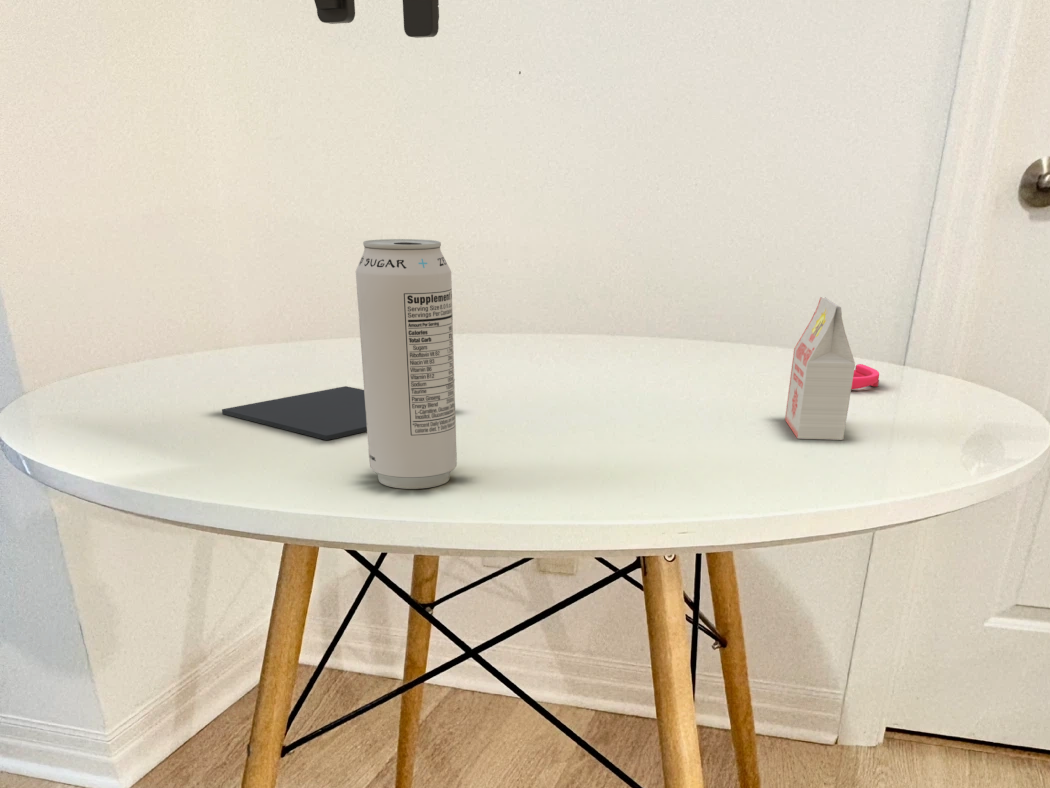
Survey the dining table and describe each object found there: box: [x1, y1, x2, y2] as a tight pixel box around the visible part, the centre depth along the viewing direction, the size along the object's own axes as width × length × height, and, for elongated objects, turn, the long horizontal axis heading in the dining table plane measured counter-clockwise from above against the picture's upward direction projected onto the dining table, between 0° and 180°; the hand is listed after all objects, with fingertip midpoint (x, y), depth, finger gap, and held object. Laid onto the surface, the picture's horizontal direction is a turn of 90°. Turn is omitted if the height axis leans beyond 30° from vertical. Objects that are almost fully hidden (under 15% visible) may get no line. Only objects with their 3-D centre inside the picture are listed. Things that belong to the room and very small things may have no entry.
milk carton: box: [784, 296, 856, 441], centre depth 82 cm, size 4×7×10 cm, turn 176°
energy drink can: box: [355, 238, 458, 490], centre depth 66 cm, size 6×6×15 cm
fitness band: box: [851, 363, 880, 390], centre depth 102 cm, size 8×6×2 cm
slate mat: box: [221, 385, 367, 441], centre depth 88 cm, size 14×14×1 cm
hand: (381, 30), depth 61 cm, fingers open, 8 cm apart
